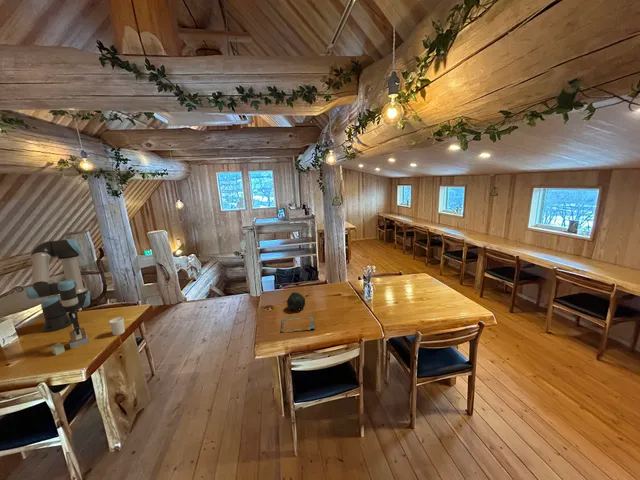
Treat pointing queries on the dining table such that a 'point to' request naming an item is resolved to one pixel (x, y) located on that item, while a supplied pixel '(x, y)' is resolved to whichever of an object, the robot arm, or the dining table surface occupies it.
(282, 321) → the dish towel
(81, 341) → the grey slab
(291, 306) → the squash
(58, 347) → the sage block
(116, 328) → the white cup
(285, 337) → the dining table surface
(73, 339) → the walnut block
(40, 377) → the dining table surface
